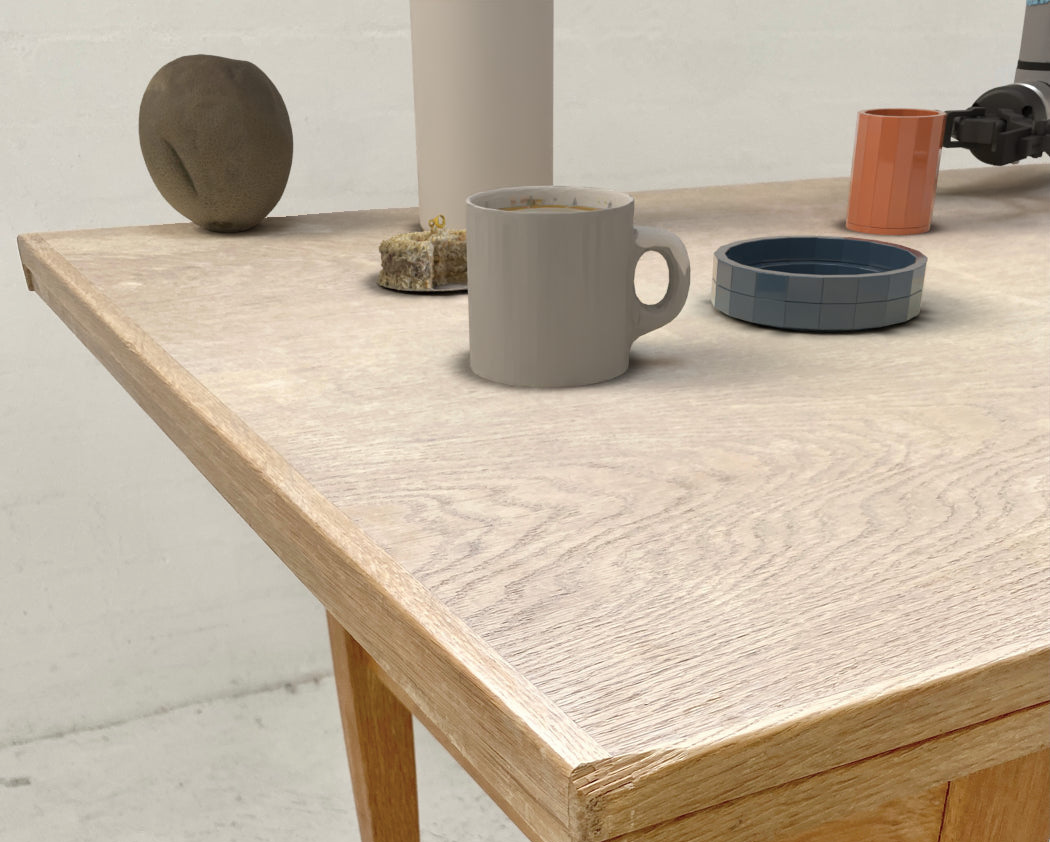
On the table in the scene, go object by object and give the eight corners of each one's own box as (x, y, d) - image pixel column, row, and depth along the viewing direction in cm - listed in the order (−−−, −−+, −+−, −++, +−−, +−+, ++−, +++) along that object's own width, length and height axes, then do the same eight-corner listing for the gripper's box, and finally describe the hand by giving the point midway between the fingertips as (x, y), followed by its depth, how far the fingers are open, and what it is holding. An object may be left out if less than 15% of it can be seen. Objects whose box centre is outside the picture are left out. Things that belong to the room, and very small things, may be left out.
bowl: (960, 327, 88) (970, 267, 86) (769, 346, 85) (774, 284, 83) (851, 283, 100) (857, 230, 98) (679, 298, 97) (681, 243, 95)
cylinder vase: (399, 238, 118) (381, -81, 105) (448, 216, 128) (438, -78, 116) (528, 246, 114) (527, -83, 102) (569, 222, 125) (571, -80, 112)
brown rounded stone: (327, 233, 121) (312, 54, 113) (181, 250, 114) (155, 61, 107) (269, 212, 131) (252, 47, 124) (132, 226, 125) (105, 53, 117)
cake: (351, 292, 102) (343, 220, 99) (445, 274, 108) (440, 206, 105) (434, 301, 95) (428, 224, 93) (530, 282, 101) (526, 209, 99)
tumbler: (946, 234, 118) (963, 114, 113) (872, 240, 116) (887, 118, 111) (900, 220, 124) (915, 106, 119) (830, 225, 122) (842, 110, 117)
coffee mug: (455, 387, 77) (448, 211, 72) (486, 344, 86) (483, 184, 81) (679, 396, 75) (689, 216, 70) (689, 352, 84) (698, 188, 79)
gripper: (1126, 171, 131) (1053, 199, 116) (895, 152, 144) (805, 175, 130) (1143, 89, 127) (1070, 108, 113) (905, 78, 140) (813, 93, 126)
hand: (928, 144), depth 121 cm, fingers open, 13 cm apart
